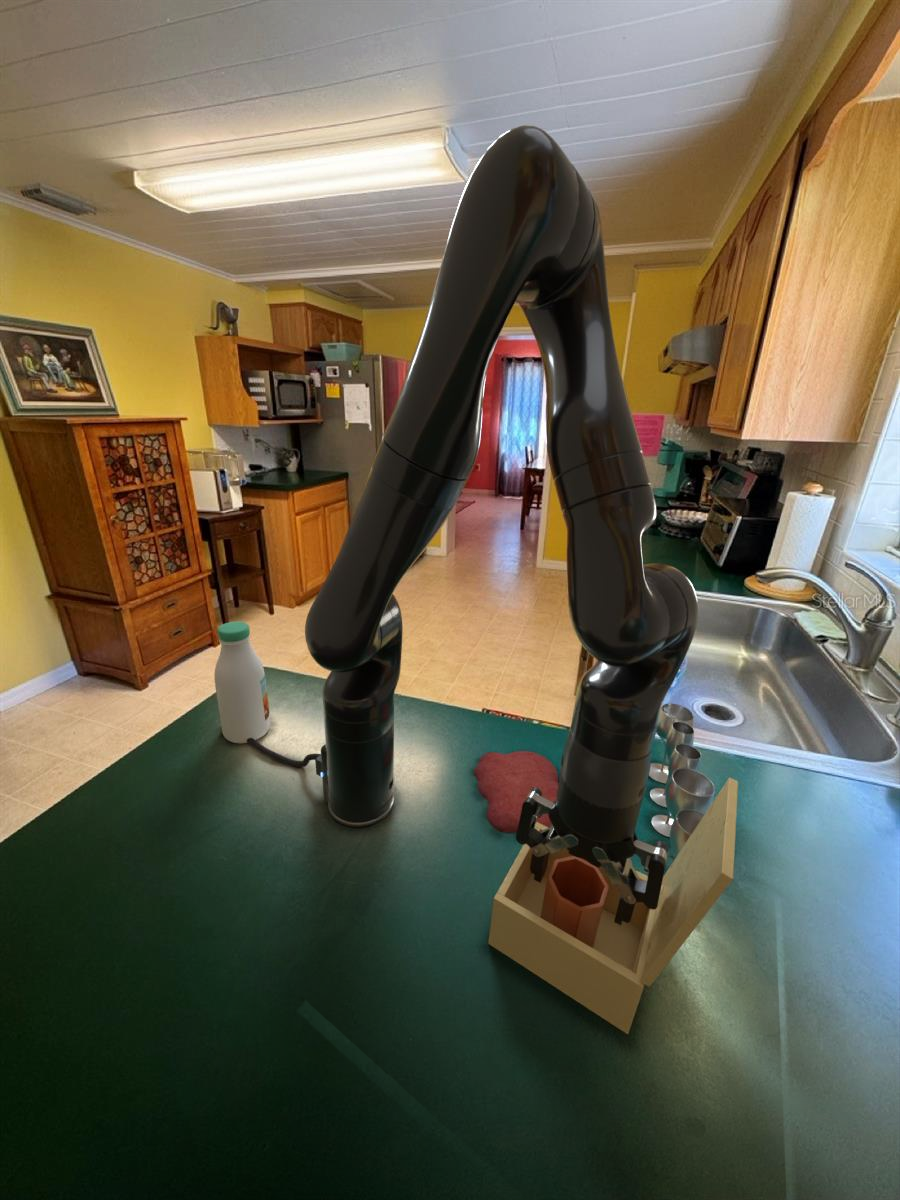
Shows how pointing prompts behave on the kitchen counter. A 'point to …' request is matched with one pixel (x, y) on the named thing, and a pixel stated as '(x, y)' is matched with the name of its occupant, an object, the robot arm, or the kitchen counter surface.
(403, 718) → the kitchen counter surface
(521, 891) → the wooden box base
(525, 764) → the red lobed pad
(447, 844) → the kitchen counter surface
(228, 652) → the milk bottle
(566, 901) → the cup
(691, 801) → the goblet set
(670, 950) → the wooden box lid
